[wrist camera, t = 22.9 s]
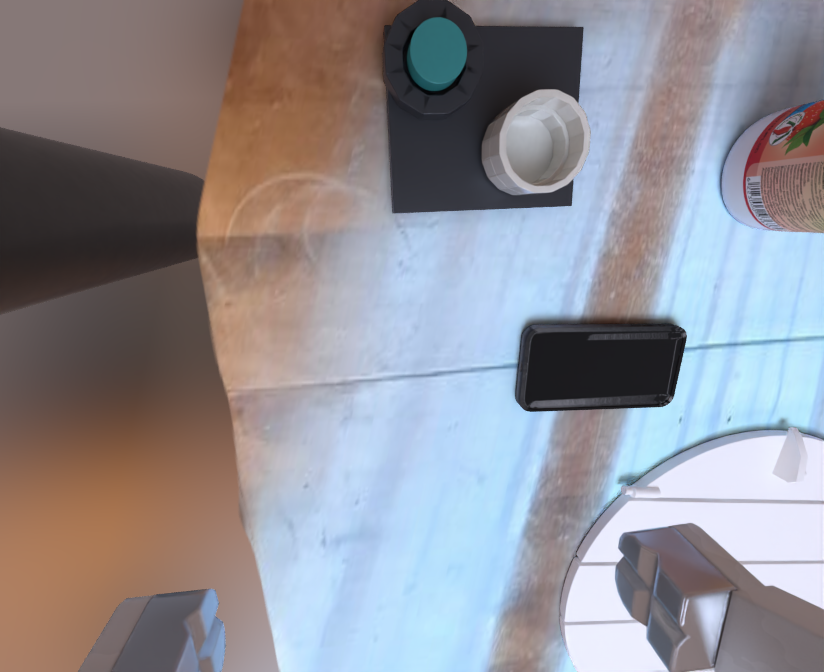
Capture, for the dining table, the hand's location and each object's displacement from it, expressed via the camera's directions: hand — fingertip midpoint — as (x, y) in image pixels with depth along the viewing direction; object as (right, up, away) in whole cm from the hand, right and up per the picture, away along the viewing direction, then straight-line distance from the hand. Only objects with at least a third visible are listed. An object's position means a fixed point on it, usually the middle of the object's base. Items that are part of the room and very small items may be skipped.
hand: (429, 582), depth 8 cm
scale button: (+1, +23, +19) cm, 30 cm away
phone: (+17, +2, +30) cm, 34 cm away
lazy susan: (+35, -23, +40) cm, 58 cm away
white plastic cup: (+8, +19, +23) cm, 30 cm away
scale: (+5, +21, +23) cm, 31 cm away
